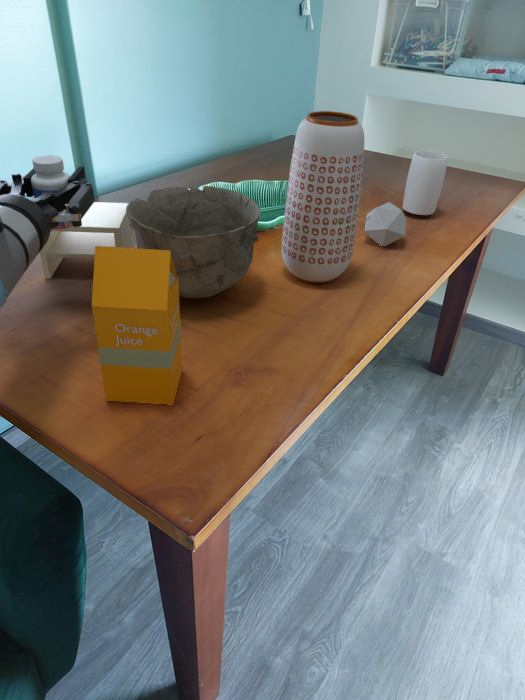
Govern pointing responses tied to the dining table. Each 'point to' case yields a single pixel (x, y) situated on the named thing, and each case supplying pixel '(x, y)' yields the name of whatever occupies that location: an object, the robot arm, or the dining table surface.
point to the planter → (323, 196)
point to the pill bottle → (49, 180)
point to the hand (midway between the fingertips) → (62, 174)
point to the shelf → (89, 236)
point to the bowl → (199, 234)
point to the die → (385, 224)
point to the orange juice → (137, 324)
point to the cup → (424, 182)
